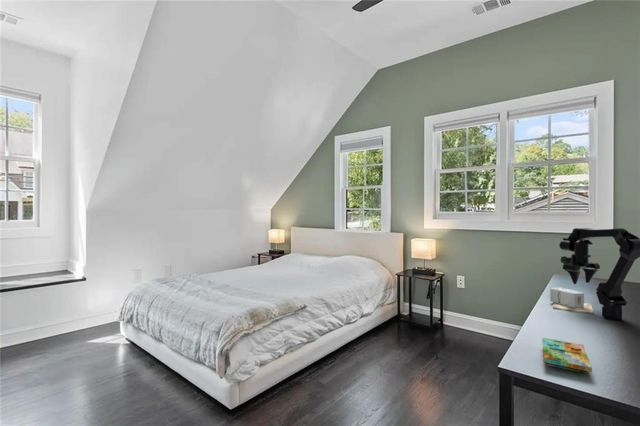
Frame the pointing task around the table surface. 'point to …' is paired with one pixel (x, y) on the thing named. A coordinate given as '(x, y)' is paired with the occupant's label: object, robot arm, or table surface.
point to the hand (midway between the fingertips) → (581, 283)
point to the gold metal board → (586, 308)
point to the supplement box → (567, 297)
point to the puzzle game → (565, 355)
